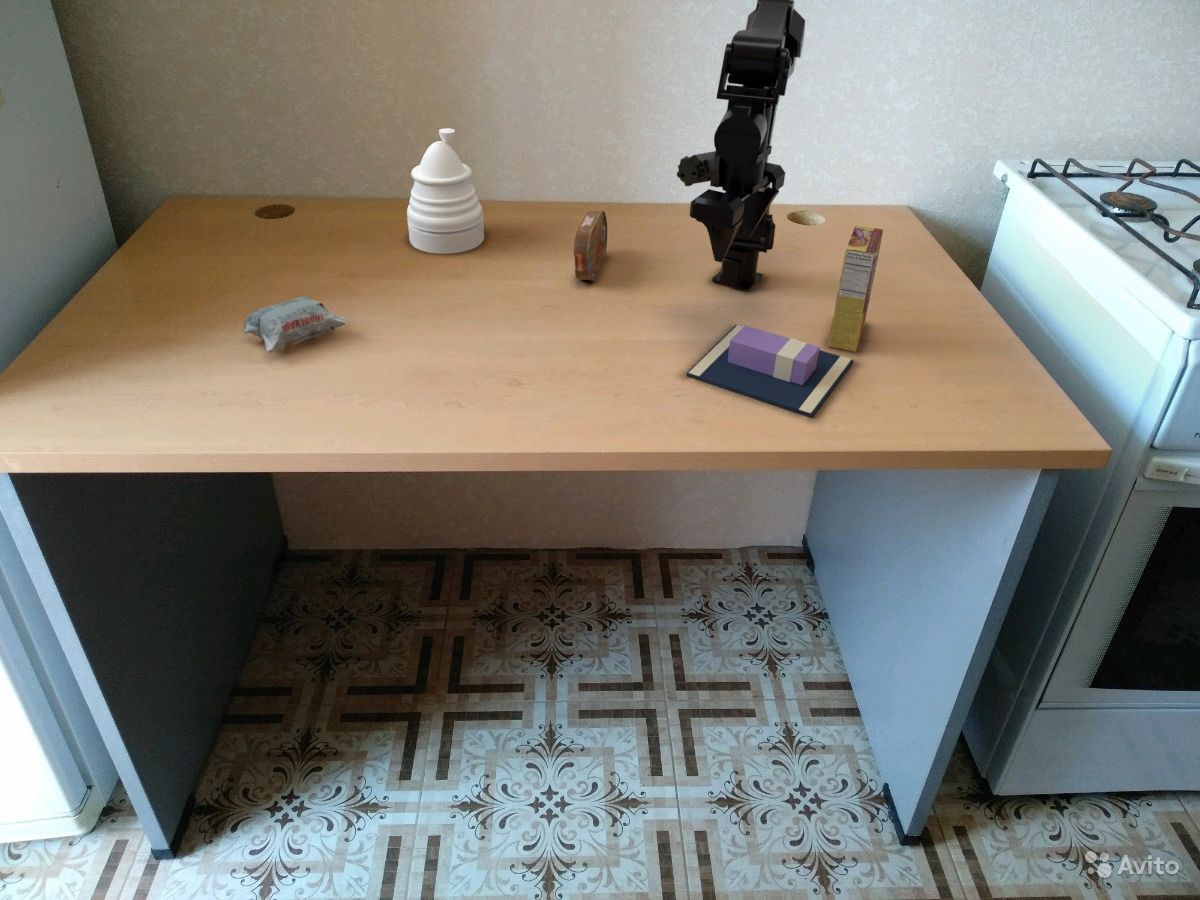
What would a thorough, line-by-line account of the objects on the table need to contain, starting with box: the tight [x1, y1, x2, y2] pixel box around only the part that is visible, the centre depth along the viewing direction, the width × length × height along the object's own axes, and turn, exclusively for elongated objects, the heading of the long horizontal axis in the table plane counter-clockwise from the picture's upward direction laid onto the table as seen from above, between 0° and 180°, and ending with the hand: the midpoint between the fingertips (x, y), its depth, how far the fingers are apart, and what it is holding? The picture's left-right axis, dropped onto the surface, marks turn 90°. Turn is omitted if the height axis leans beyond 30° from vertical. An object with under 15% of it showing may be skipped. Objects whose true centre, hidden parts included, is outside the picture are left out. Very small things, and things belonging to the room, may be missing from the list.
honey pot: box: [406, 127, 485, 255], centre depth 149 cm, size 13×13×18 cm
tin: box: [573, 210, 608, 282], centre depth 144 cm, size 15×3×8 cm, turn 168°
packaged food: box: [242, 295, 348, 354], centre depth 124 cm, size 9×12×5 cm
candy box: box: [827, 225, 884, 353], centre depth 126 cm, size 9×4×15 cm, turn 158°
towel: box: [686, 324, 854, 419], centre depth 122 cm, size 16×18×1 cm
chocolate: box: [728, 325, 821, 385], centre depth 121 cm, size 5×11×4 cm, turn 59°
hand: (732, 249), depth 126 cm, fingers open, 9 cm apart
